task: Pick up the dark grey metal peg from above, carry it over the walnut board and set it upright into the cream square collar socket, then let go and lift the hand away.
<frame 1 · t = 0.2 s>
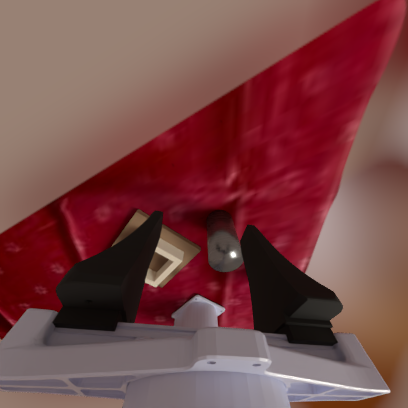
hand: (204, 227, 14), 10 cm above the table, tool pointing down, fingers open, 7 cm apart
socket board: (152, 251, 28), on the table
peg: (219, 221, 26), on the table
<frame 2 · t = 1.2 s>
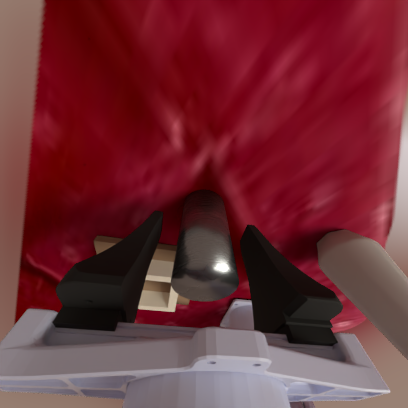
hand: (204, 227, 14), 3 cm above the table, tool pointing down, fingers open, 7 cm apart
socket board: (150, 273, 22), on the table
salt shaker: (333, 241, 19), on the table
peg: (204, 207, 16), on the table
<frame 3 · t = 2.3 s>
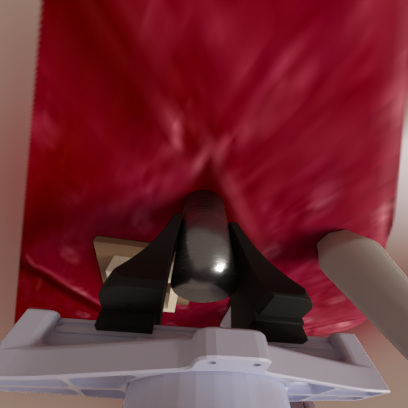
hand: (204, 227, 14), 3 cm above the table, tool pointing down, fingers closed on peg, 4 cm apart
socket board: (150, 273, 22), on the table
salt shaker: (333, 241, 19), on the table
peg: (203, 207, 16), on the table, touching gripper
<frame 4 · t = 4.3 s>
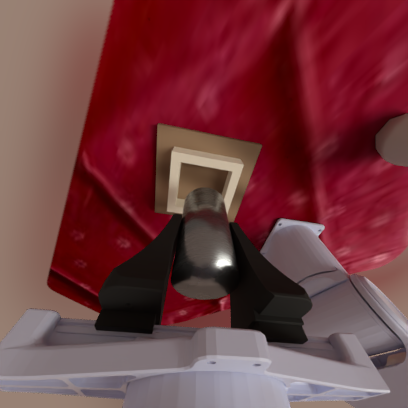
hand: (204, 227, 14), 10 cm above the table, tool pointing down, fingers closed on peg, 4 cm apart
socket board: (202, 180, 22), on the table
salt shaker: (392, 133, 19), on the table
peg: (204, 205, 16), point 7 cm above the table, touching gripper
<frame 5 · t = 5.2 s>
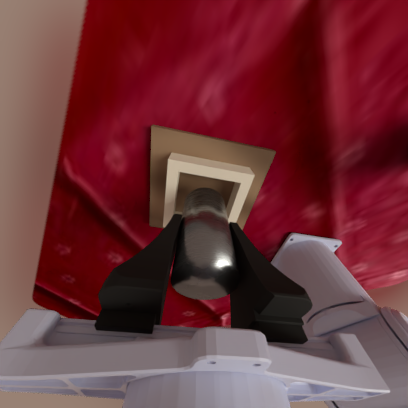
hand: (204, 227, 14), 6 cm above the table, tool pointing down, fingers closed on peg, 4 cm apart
socket board: (203, 190, 19), on the table
peg: (204, 205, 16), point 3 cm above the table, touching gripper
when the fingers open (4 cm above the table, at t = 6.2 s): peg stays where it is, resting on socket board.
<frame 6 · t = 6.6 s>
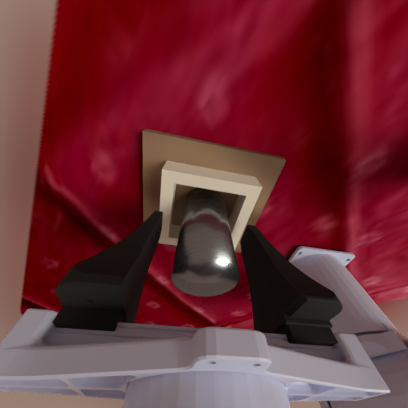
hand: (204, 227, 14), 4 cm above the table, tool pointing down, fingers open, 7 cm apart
socket board: (203, 201, 17), on the table
peg: (204, 204, 16), point 1 cm above the table, touching socket board
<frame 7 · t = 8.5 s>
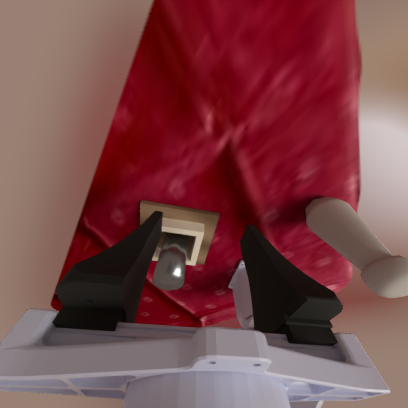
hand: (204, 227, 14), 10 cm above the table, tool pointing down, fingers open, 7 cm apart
socket board: (177, 234, 28), on the table
salt shaker: (317, 207, 26), on the table
peg: (176, 237, 28), point 1 cm above the table, touching socket board
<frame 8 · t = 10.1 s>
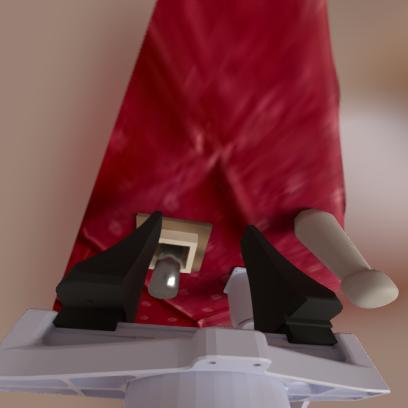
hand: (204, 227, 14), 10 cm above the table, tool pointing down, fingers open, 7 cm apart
socket board: (172, 243, 30), on the table
salt shaker: (306, 217, 27), on the table
peg: (172, 246, 29), point 1 cm above the table, touching socket board
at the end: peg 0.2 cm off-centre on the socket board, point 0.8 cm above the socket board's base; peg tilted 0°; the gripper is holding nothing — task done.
